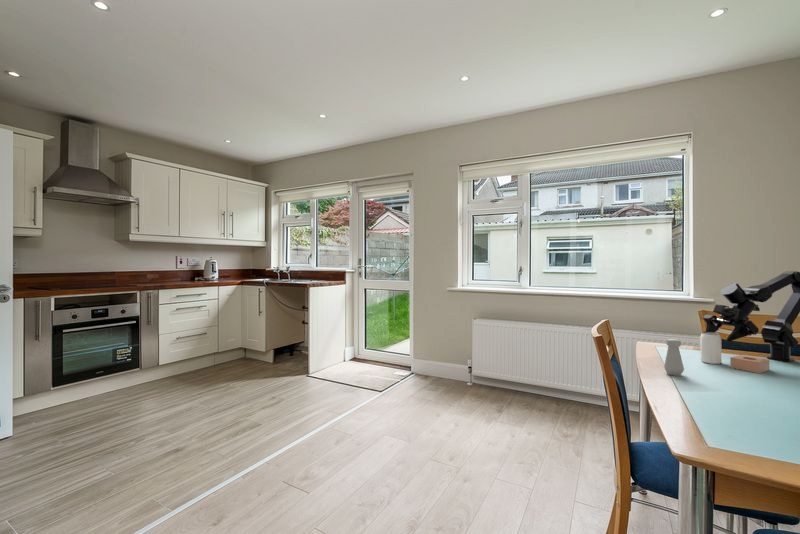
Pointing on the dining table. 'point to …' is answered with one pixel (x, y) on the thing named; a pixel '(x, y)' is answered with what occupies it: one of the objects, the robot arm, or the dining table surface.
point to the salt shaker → (673, 358)
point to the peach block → (749, 363)
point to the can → (710, 347)
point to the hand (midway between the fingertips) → (716, 338)
